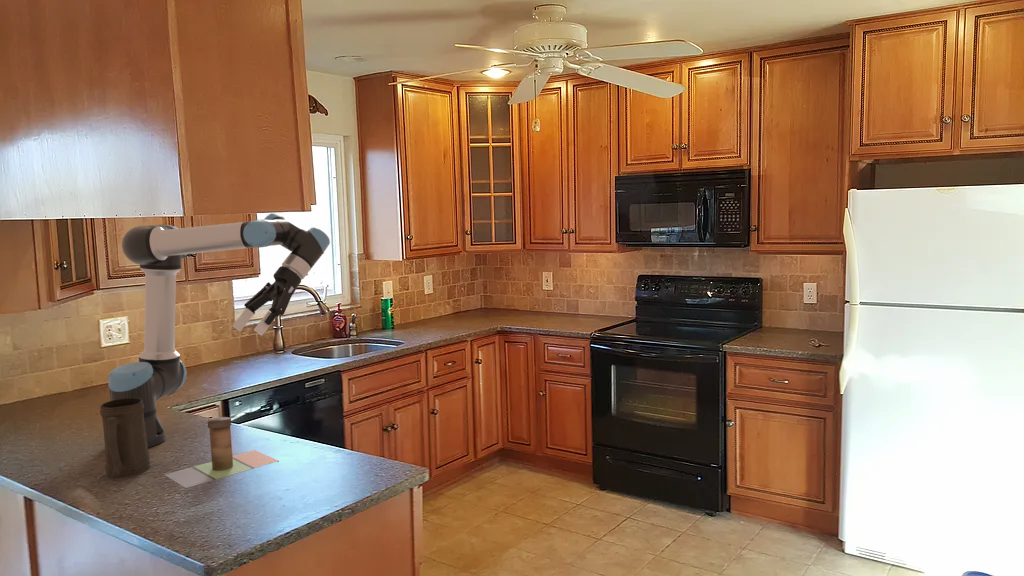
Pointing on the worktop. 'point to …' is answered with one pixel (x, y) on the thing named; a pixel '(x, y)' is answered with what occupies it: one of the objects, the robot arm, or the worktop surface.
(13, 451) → the worktop surface
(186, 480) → the gauge board
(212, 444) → the wooden dark-capped post
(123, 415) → the beer stein
